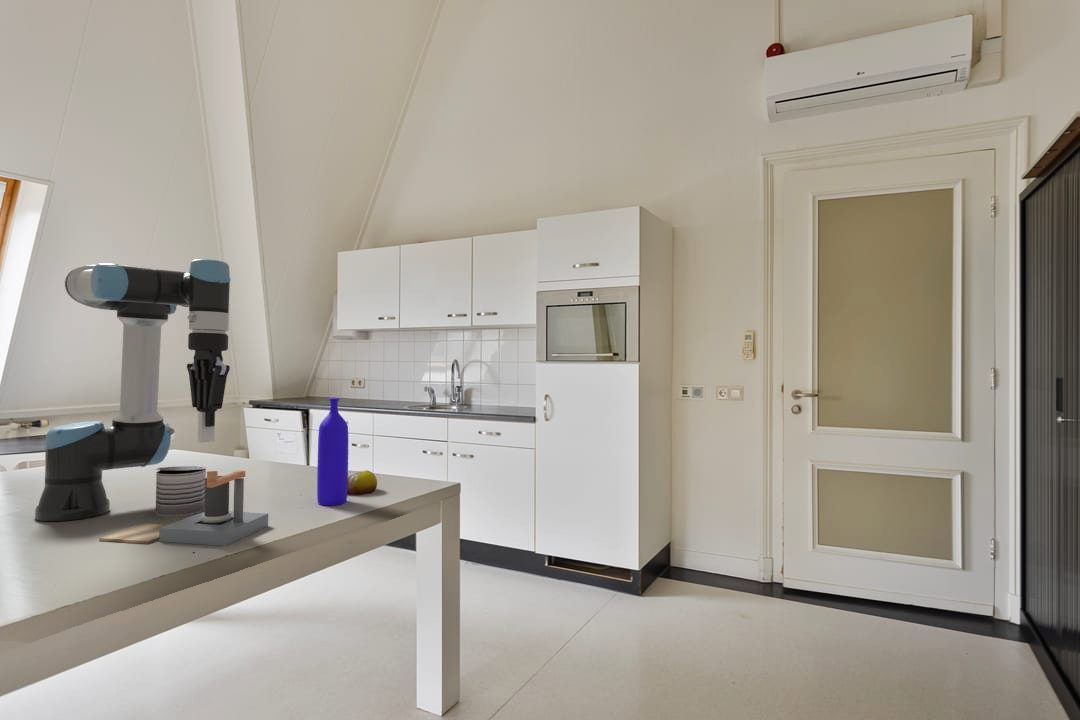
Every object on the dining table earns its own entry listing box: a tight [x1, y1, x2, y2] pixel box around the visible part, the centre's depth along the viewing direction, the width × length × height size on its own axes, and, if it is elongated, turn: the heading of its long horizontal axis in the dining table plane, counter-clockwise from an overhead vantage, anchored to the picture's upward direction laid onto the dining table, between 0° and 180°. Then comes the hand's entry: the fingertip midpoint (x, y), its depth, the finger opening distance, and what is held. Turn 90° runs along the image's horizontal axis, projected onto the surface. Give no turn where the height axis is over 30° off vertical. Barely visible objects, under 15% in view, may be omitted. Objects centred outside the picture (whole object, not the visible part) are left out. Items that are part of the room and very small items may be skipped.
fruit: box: [347, 470, 378, 496], centre depth 185 cm, size 11×10×8 cm
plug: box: [201, 475, 233, 525], centre depth 139 cm, size 6×6×13 cm
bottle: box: [316, 397, 349, 507], centre depth 170 cm, size 8×8×30 cm
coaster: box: [98, 522, 167, 545], centre depth 137 cm, size 12×12×1 cm
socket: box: [158, 477, 269, 547], centre depth 139 cm, size 16×16×13 cm
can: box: [155, 465, 207, 518], centre depth 158 cm, size 11×11×12 cm
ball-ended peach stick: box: [206, 470, 246, 488], centre depth 133 cm, size 13×3×3 cm, turn 179°
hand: (206, 441), depth 128 cm, fingers closed
